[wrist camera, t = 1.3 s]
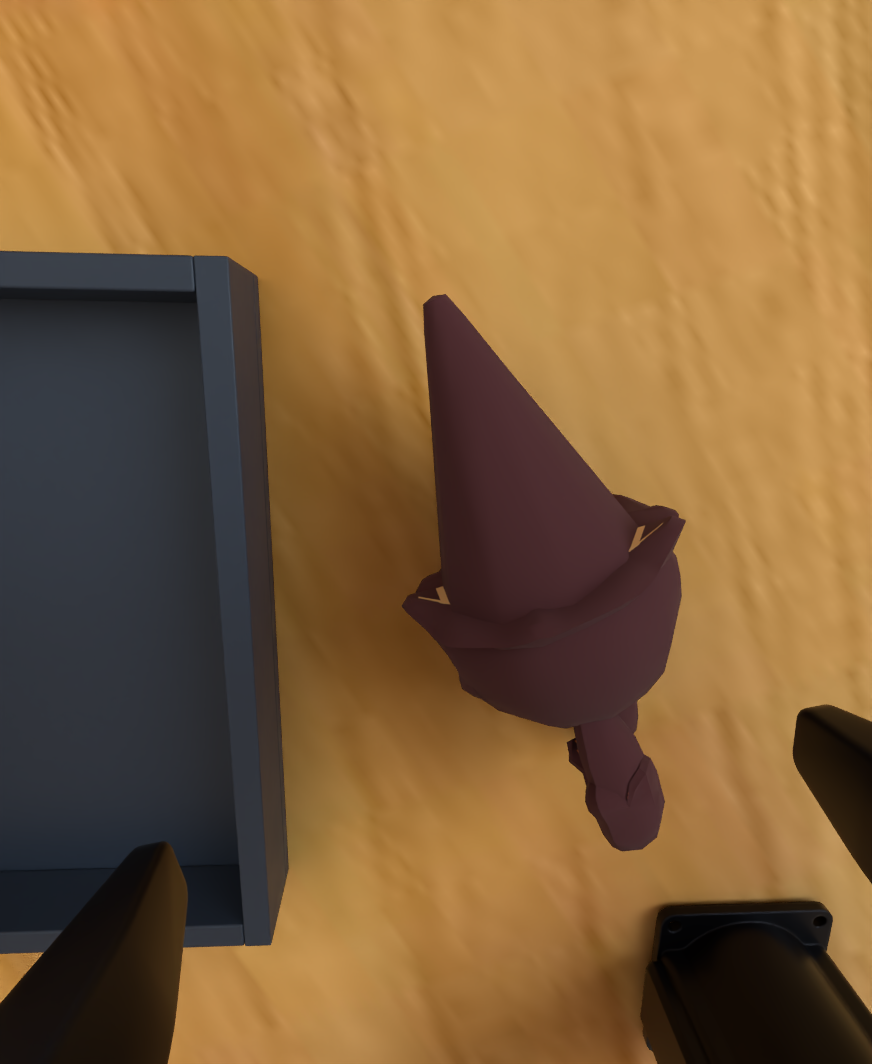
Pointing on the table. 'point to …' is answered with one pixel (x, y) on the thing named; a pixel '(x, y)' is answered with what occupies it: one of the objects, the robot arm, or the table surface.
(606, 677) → the icecream
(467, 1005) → the table surface
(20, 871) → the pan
